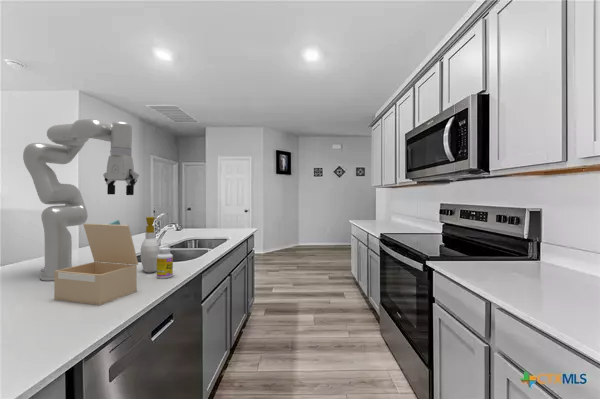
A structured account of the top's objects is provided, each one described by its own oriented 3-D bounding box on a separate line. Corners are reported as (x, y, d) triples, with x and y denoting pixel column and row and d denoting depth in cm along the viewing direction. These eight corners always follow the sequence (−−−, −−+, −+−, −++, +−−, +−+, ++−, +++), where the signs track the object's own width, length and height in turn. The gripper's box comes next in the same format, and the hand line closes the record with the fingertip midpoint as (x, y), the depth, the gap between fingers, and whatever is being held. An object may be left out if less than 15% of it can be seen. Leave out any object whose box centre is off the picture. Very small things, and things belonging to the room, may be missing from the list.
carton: (53, 299, 112) (53, 271, 112) (94, 286, 127) (94, 261, 127) (99, 305, 106) (99, 275, 106) (136, 291, 122) (136, 265, 122)
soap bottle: (164, 272, 151) (164, 217, 151) (143, 275, 146) (143, 218, 146) (158, 266, 163) (158, 215, 163) (138, 269, 158) (138, 216, 158)
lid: (83, 224, 122) (96, 218, 128) (94, 261, 127) (106, 254, 133) (127, 225, 117) (139, 219, 123) (137, 264, 122) (148, 257, 127)
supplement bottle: (166, 279, 139) (166, 250, 139) (153, 278, 141) (153, 249, 140) (175, 275, 146) (175, 247, 146) (162, 274, 147) (162, 246, 147)
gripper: (96, 152, 130) (96, 194, 131) (130, 151, 125) (129, 195, 125) (112, 154, 137) (111, 194, 138) (145, 153, 132) (144, 195, 133)
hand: (120, 194), depth 132 cm, fingers open, 9 cm apart
